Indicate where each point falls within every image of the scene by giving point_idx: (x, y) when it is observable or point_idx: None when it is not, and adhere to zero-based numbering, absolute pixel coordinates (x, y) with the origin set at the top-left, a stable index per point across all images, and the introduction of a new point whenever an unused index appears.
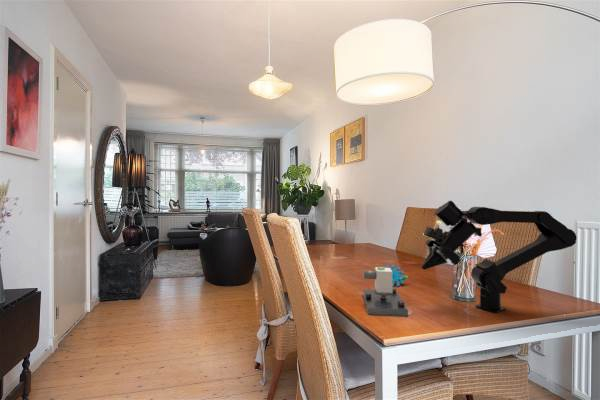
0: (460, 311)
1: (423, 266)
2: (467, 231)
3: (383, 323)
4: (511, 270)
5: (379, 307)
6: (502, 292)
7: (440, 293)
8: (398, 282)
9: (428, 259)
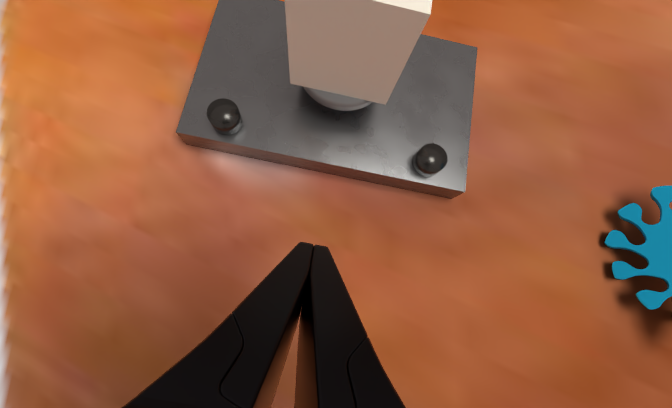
0: None
1: (292, 255)
2: None
3: (131, 29)
4: None
5: (221, 29)
6: None
7: None
8: (636, 274)
9: (238, 319)
